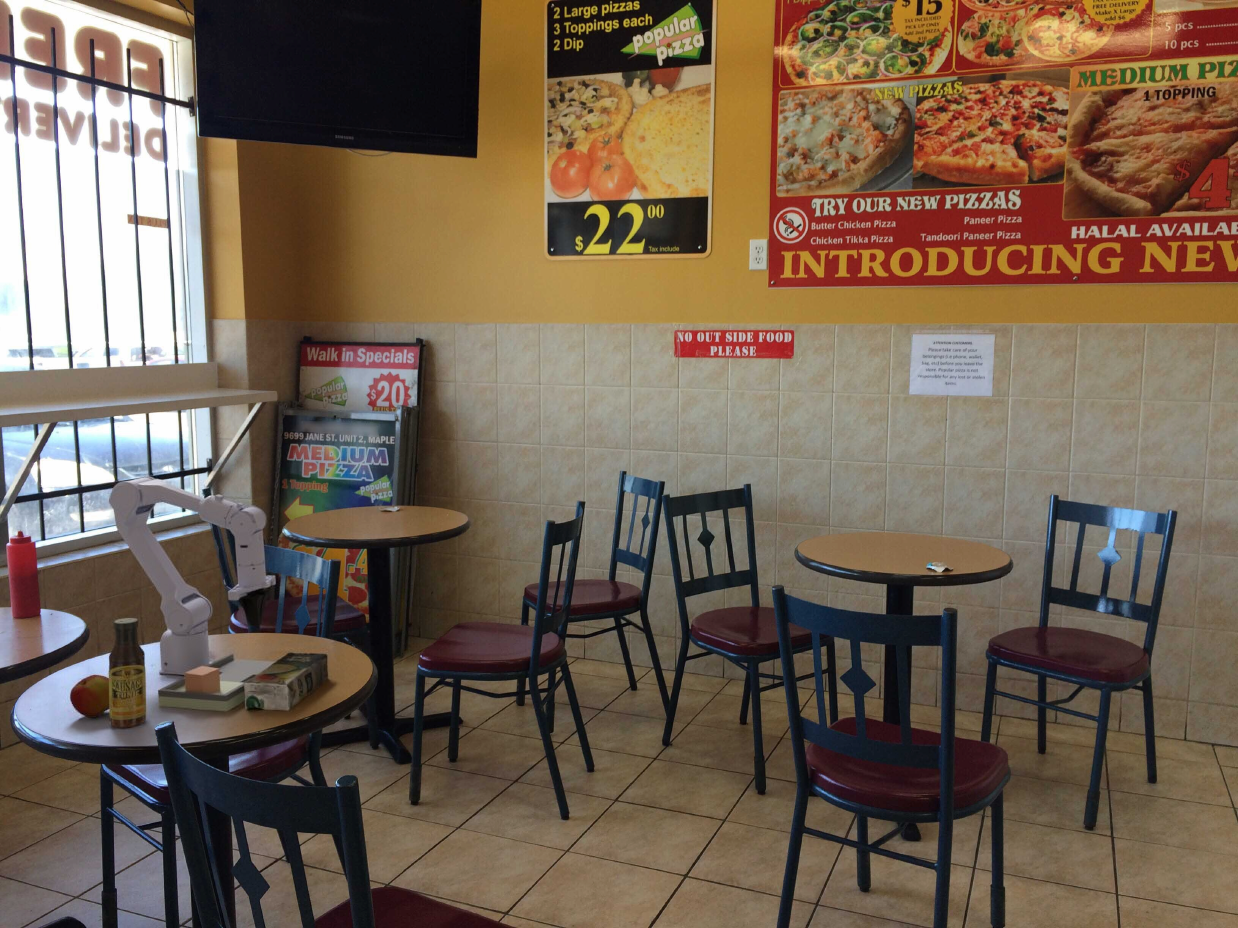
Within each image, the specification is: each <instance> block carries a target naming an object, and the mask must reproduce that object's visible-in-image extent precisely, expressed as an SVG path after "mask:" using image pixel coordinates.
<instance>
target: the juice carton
mask: <svg viewBox="0 0 1238 928" xmlns="http://www.w3.org/2000/svg"><path fill="white" fill-rule="evenodd" d="M274 662H275V663H273V664H272V665H271V666H269V667H268V668H267V669H265V670H263V671H262V672H261V673H259V674H258V675H256V676H255V677H253V678H252V679H250V680H249V681H247V682H246V683H245V684H244V689H245V701H244V708H245V710H248V709H253V708H256V709H262V710H264V711H266V710H267V711H269V710H270V711H272V710H273V711H275V710H276V711H289V710H291V709H292V708H294V707H295V706H296V705H298V704H299V703H300V702H302V700H303V699H304V698H306V697H307V696H309V695H310V694H311V693H313V691H315V690H316V689H318V688H319V687H320V686H321V685H322V684H324V683H325V682H326V681H327V680H328V678H329V671H328V669H329V667H328V663H329V662H328V654H327V653H315V652H313V653H312V652H310V653H307V652H303V653H299V652H297V653H296V652H287V653H286V654H285V655H283V656H282V657H281V658H280V659H278V660H276V661H274ZM324 681H325V682H324ZM305 696H306V697H305Z"/></svg>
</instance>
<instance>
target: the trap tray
mask: <svg viewBox="0 0 1238 928" xmlns="http://www.w3.org/2000/svg"><path fill="white" fill-rule="evenodd" d="M212 662H213V663H211V664H209V665H207V666H205V667H212V668H219V674H220V691H218V692H215V693H206V692H193V691H186V689H185V676H183V677H181V678H179V679H177V680H176V681H173V682H171V683H170V684H167V685H166V686H163V687H162V688H160V689H158V690H157V694H158V695H157V697H158V698H157V699H158V707H166V708H167V707H168V708H179V709H192V710H193V709H194V710H202V711H203V710H204V711H205V710H206V711H216V712H229V711H230V710H232V709H234V708H235V707H236V706H238V705H240V704H241V703H243V702H245V689H244V684H245V683H246V682H247V681H249V680H250V679H252V678H253V677H255V676H256V675H258V674H259V673H261V672H262V671H263V670H265V669H267V668H268V667H269V666H271V665H272V664H273V663H275V662H276V661H268V660H267V661H266V660H252V659H240V658H239V659H238V658H234V653H229V654H226V655H223V657H220V658H219V659H217V660H215V661H212Z"/></svg>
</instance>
